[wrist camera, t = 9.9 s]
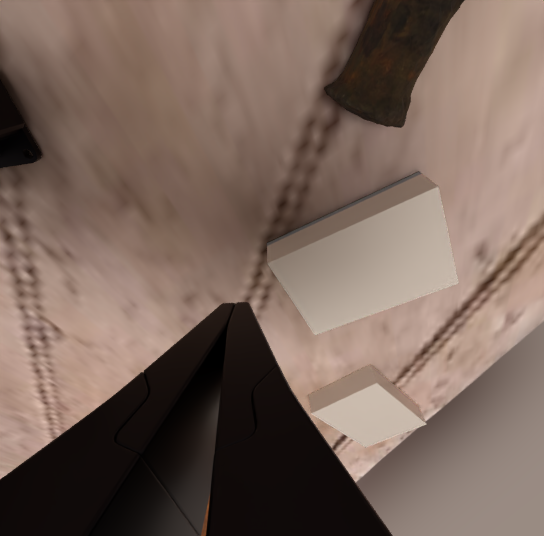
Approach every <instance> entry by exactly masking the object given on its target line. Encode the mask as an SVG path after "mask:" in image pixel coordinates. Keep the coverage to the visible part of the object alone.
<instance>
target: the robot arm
mask: <svg viewBox="0 0 544 536" xmlns="http://www.w3.org/2000/svg"><path fill="white" fill-rule="evenodd" d="M27 150H29V151H31V153H32V154H33V156H31V155H30V154H29V153H28V151H27ZM41 156H42V154H41V152H40V150H39V148H38V146H37V144H36V143H35V141H34V139H33V137H32V136H31V134H30V132H29V130H28V129H27V127H26V125H25V123H24V121H23V119H22V117H21V115H20V114H19V112H18V110H17V108H16V107H15V105H14V103H13V101H12V100H11V98H10V96H9V94H8V93H7V91H6V89H5V87H4V86H3V84H2V82H1V80H0V168H3V167H9V166H16V165H22V164H28V163H34V162H36V161H38V160H40V159H41ZM209 496H210V499H209ZM208 501H209V509H208V519H207V529H206V536H392V534H391V533H390V531H389V530H388V528H387V527H386V525H385V524H384V523H383V521H382V520H381V519H380V517H379V516H378V514H377V513H376V511H375V510H374V508H373V507H372V506H371V504H370V503H369V501H368V500H367V498H366V497H365V496H364V494H363V493H362V491H361V490H360V488H359V487H358V486H357V484H356V483H355V481H354V480H353V478H352V477H351V476H350V474H349V473H348V471H347V470H346V468H345V467H344V466H343V464H342V463H341V461H340V460H339V458H338V457H337V456H336V454H335V453H334V451H333V450H332V448H331V447H330V446H329V444H328V443H327V441H326V440H325V438H324V437H323V436H322V434H321V433H320V431H319V430H318V428H317V427H316V426H315V424H314V423H313V421H312V420H311V418H310V417H309V416H308V414H307V413H306V411H305V410H304V408H303V407H302V405H301V404H300V402H299V401H298V399H297V398H296V396H295V395H294V393H293V391H292V390H291V388H290V386H289V384H288V382H287V380H286V379H285V377H284V375H283V373H282V371H281V368H280V367H279V365H278V363H277V361H276V359H275V357H274V355H273V352H272V350H271V348H270V346H269V344H268V342H267V340H266V338H265V336H264V334H263V331H262V329H261V327H260V325H259V323H258V321H257V319H256V317H255V315H254V313H253V310H252V308H251V306H250V304H249V303H248V302H238V303H236V304H235V303H223V304H221V305H220V306H219V307H218V308H217V309H215V310H214V311H213V312H212V313H211V314H210V315H208V316H207V317H206V318H205V319H204V320H203V321H201V322H200V323H199V324H198V325H197V326H196V327H194V328H193V329H192V330H191V331H190V332H189V333H187V334H186V335H185V336H184V337H183V338H181V339H180V340H179V341H178V342H177V343H176V344H174V345H173V346H172V347H171V348H170V349H169V350H167V351H166V352H165V353H164V354H163V355H162V356H160V357H159V358H158V359H157V360H156V361H155V362H153V363H152V364H151V365H150V366H149V367H148V368H146V369H145V370H144V373H143V372H141V373H140V374H139V375H138V376H136V377H135V378H134V379H133V380H132V381H131V382H129V383H128V384H127V385H126V386H124V387H123V388H122V389H121V390H120V391H118V392H117V393H116V394H115V395H113V396H112V397H111V398H110V399H108V400H107V401H106V402H104V403H103V404H102V405H100V406H99V407H98V408H96V409H95V410H94V411H93V412H91V413H90V414H89V415H87V416H86V417H84V418H83V419H82V420H80V421H79V422H78V423H76V424H75V425H74V426H72V427H71V428H70V429H68V430H67V431H65V432H64V433H63V434H61V435H60V436H59V437H57V438H56V439H55V440H53V441H52V442H51V443H49V444H48V445H46V446H45V447H44V448H42V449H41V450H40V451H38V452H37V453H36V454H34V455H33V456H32V457H30V458H29V459H27V460H26V461H25V462H23V463H22V464H21V465H19V466H18V467H17V468H15V469H14V470H13V471H11V472H10V473H8V474H7V475H6V476H4V477H3V478H2V479H0V536H201V533H202V529H203V524H204V519H205V515H206V510H207V505H208Z"/></svg>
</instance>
